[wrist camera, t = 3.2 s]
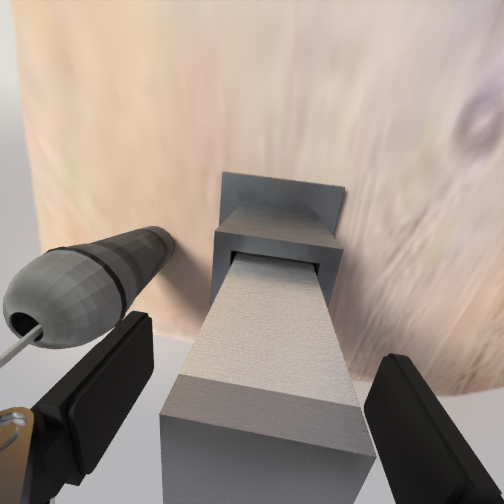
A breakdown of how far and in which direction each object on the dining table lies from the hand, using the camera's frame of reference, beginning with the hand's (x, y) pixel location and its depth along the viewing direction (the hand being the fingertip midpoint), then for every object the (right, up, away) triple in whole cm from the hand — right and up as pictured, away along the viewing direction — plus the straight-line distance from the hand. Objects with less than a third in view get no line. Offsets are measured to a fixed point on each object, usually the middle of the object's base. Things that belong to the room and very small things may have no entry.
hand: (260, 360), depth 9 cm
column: (+2, +6, +15) cm, 16 cm away
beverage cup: (-12, +5, +19) cm, 23 cm away
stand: (+2, +6, +17) cm, 18 cm away
